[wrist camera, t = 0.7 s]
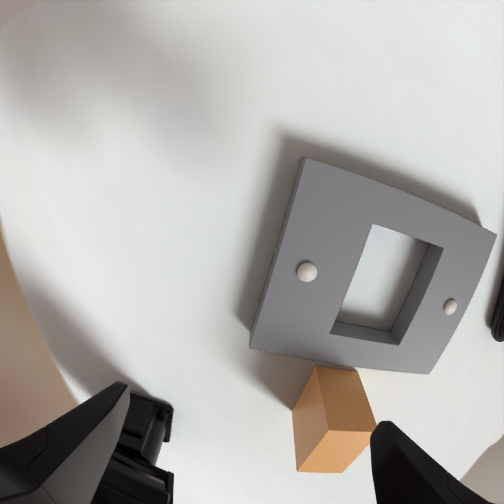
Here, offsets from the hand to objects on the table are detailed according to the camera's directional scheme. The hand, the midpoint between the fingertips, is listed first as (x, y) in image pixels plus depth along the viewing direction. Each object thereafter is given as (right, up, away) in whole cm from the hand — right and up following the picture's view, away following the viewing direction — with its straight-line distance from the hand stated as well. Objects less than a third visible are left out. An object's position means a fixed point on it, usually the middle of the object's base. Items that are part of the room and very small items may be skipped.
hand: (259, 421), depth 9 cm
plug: (+6, -7, +15) cm, 18 cm away
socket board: (+9, +4, +12) cm, 15 cm away
